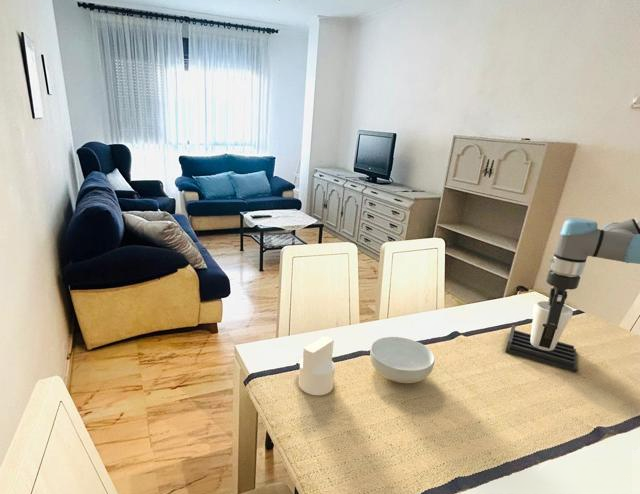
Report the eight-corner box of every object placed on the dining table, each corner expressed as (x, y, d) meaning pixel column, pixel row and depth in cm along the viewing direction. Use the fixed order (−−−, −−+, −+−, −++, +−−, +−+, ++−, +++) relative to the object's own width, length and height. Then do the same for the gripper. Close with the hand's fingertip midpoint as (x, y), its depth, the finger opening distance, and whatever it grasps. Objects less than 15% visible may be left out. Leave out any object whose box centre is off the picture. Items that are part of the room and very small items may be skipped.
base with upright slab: (319, 400, 94) (322, 358, 90) (291, 384, 100) (293, 343, 96) (339, 384, 101) (344, 344, 96) (312, 369, 106) (315, 331, 102)
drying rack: (574, 352, 120) (578, 341, 119) (576, 373, 110) (580, 361, 108) (509, 334, 130) (512, 324, 129) (505, 352, 119) (508, 341, 118)
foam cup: (529, 334, 125) (540, 298, 121) (563, 345, 119) (575, 307, 115) (520, 344, 119) (531, 306, 114) (556, 357, 113) (569, 317, 108)
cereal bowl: (381, 350, 117) (384, 330, 115) (437, 370, 108) (442, 348, 106) (357, 377, 104) (360, 354, 101) (419, 402, 95) (424, 378, 93)
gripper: (550, 259, 122) (532, 319, 130) (548, 281, 103) (528, 350, 110) (579, 264, 118) (559, 326, 126) (583, 288, 99) (559, 359, 106)
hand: (544, 337), depth 118 cm, fingers open, 13 cm apart
